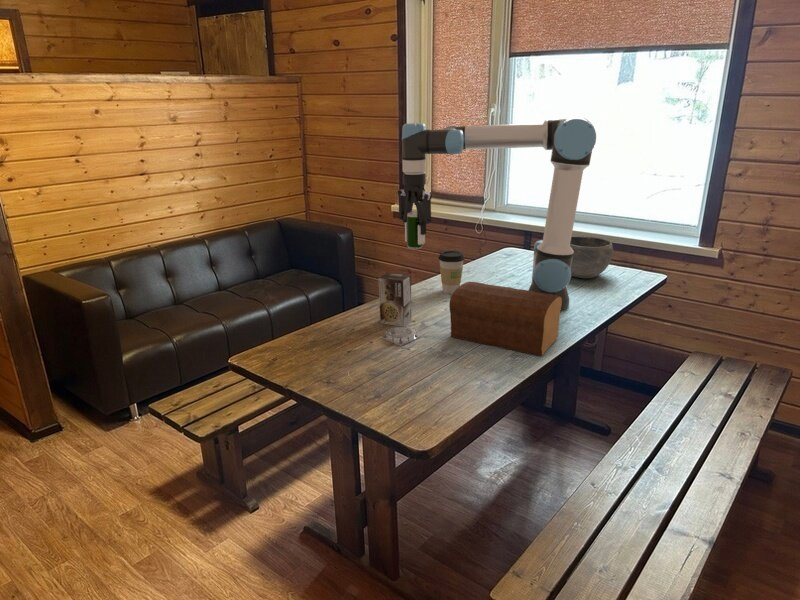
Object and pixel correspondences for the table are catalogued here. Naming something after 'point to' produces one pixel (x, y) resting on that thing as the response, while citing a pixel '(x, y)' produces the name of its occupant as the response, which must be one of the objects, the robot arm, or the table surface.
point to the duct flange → (400, 335)
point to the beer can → (412, 230)
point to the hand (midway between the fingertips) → (415, 242)
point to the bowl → (590, 256)
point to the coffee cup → (451, 270)
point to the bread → (505, 317)
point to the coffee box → (395, 299)
